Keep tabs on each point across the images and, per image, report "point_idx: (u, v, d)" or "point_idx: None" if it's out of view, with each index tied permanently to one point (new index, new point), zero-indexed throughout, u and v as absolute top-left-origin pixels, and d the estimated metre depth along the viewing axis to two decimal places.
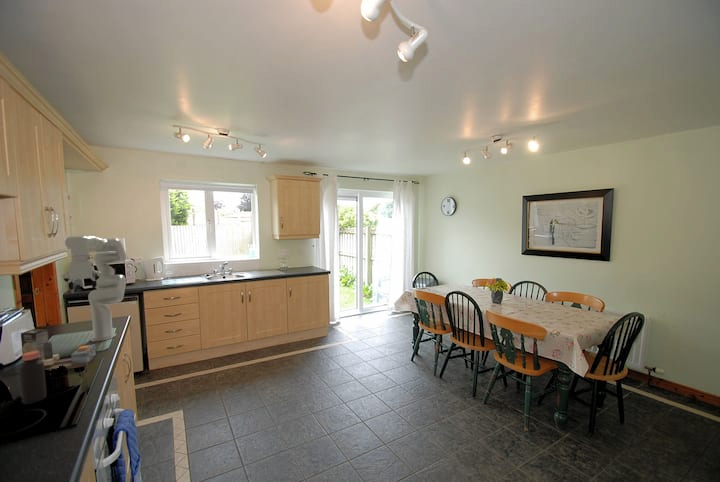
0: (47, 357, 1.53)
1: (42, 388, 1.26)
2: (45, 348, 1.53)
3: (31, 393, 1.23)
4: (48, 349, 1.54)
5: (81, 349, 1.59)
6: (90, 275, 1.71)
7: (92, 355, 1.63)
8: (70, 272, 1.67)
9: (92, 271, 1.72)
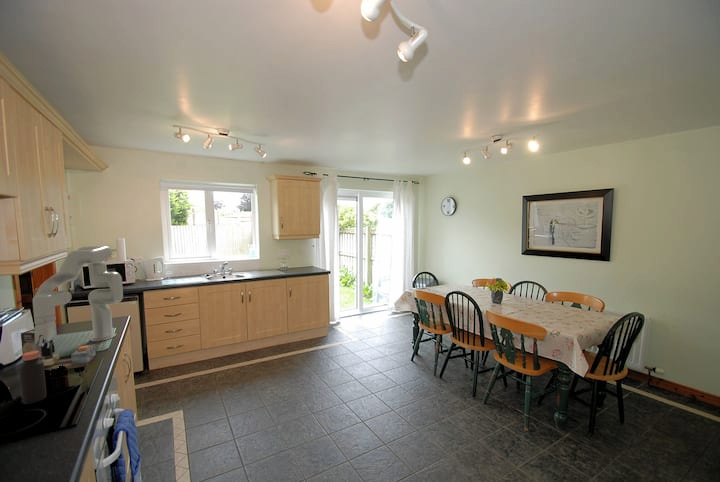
0: (47, 357, 1.53)
1: (42, 388, 1.26)
2: None
3: (31, 393, 1.23)
4: None
5: (81, 349, 1.59)
6: (56, 334, 1.59)
7: (92, 355, 1.63)
8: (47, 334, 1.51)
9: None
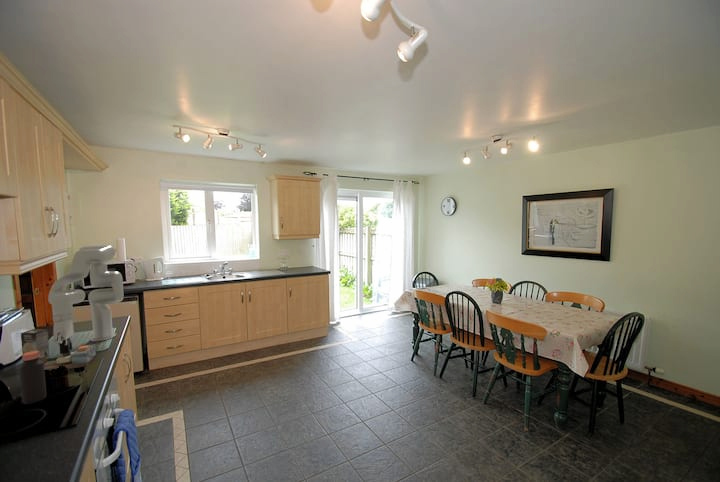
0: (65, 354, 1.56)
1: (42, 388, 1.26)
2: None
3: (31, 393, 1.23)
4: None
5: (81, 349, 1.59)
6: (73, 332, 1.62)
7: (92, 355, 1.63)
8: (65, 332, 1.54)
9: None
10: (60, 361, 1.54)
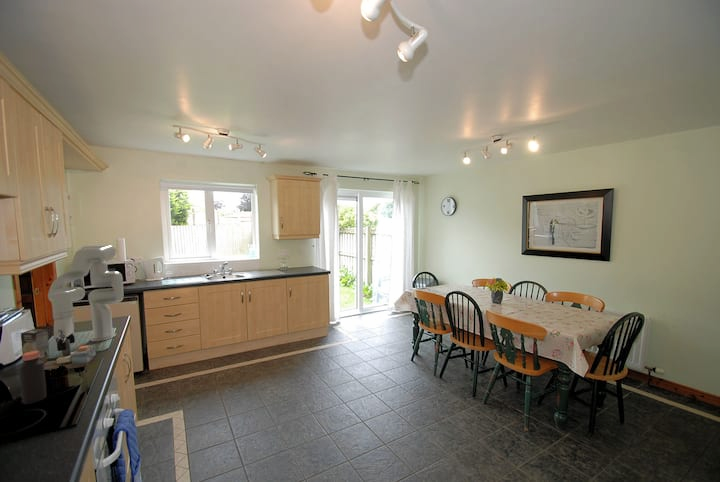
0: (65, 354, 1.56)
1: (42, 388, 1.26)
2: None
3: (31, 393, 1.23)
4: (66, 346, 1.57)
5: (81, 349, 1.59)
6: (73, 329, 1.62)
7: (92, 355, 1.63)
8: (66, 330, 1.54)
9: None
10: (60, 361, 1.54)
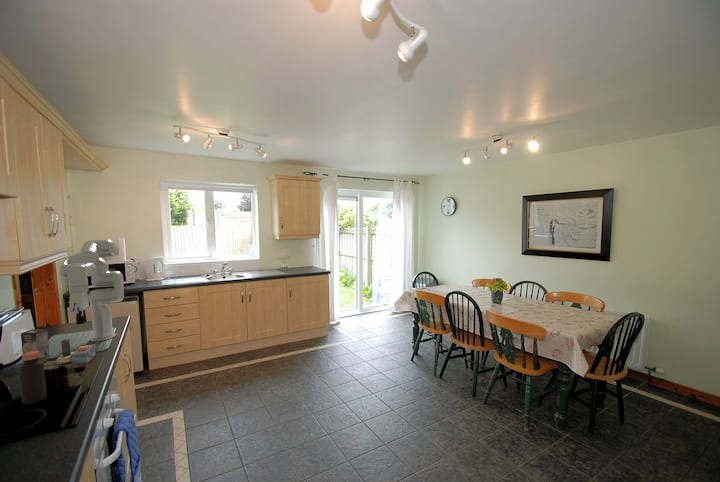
0: (65, 354, 1.56)
1: (42, 388, 1.26)
2: (63, 345, 1.56)
3: (31, 393, 1.23)
4: (66, 346, 1.57)
5: (81, 349, 1.59)
6: (88, 304, 1.64)
7: (92, 355, 1.63)
8: (81, 303, 1.56)
9: None
10: (60, 361, 1.54)
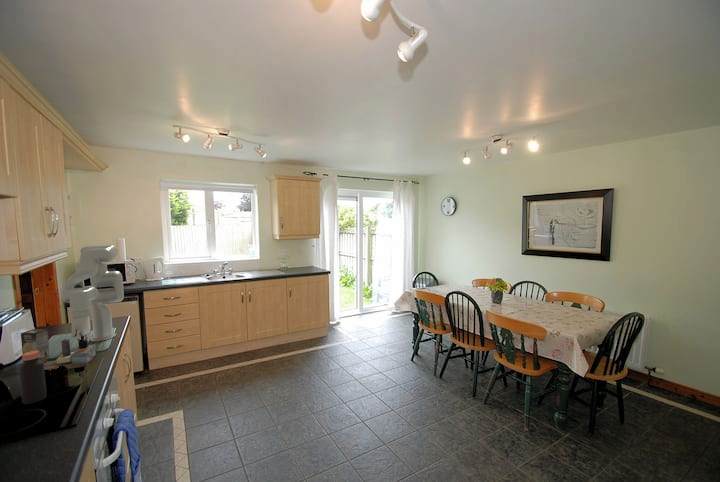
0: (65, 354, 1.56)
1: (42, 388, 1.26)
2: (63, 345, 1.56)
3: (31, 393, 1.23)
4: (66, 346, 1.57)
5: (81, 350, 1.59)
6: (90, 328, 1.64)
7: (92, 355, 1.63)
8: (83, 328, 1.57)
9: None
10: (60, 361, 1.54)
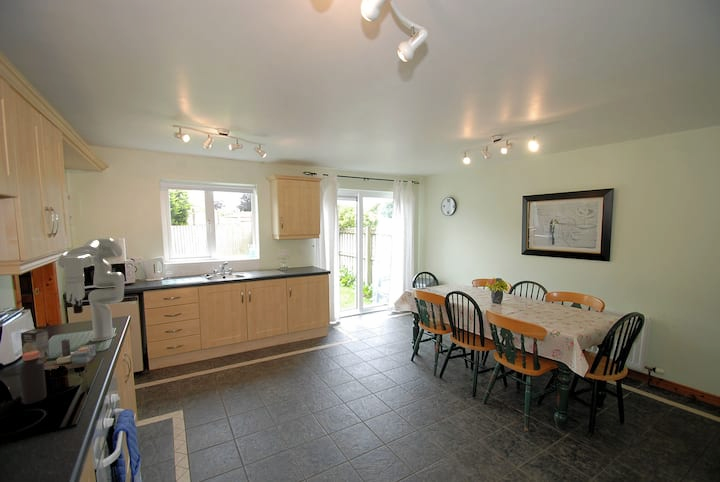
0: (65, 354, 1.56)
1: (42, 388, 1.26)
2: (63, 345, 1.56)
3: (31, 393, 1.23)
4: (66, 346, 1.57)
5: None
6: (84, 294, 1.68)
7: (92, 355, 1.63)
8: (78, 294, 1.60)
9: None
10: (60, 361, 1.54)
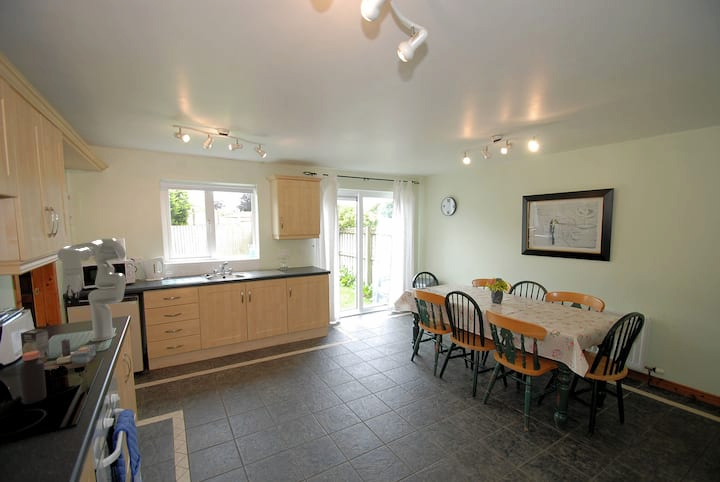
0: (65, 354, 1.56)
1: (42, 388, 1.26)
2: (63, 345, 1.56)
3: (31, 393, 1.23)
4: (66, 346, 1.57)
5: None
6: None
7: (92, 355, 1.63)
8: (75, 285, 1.62)
9: None
10: (60, 361, 1.54)
